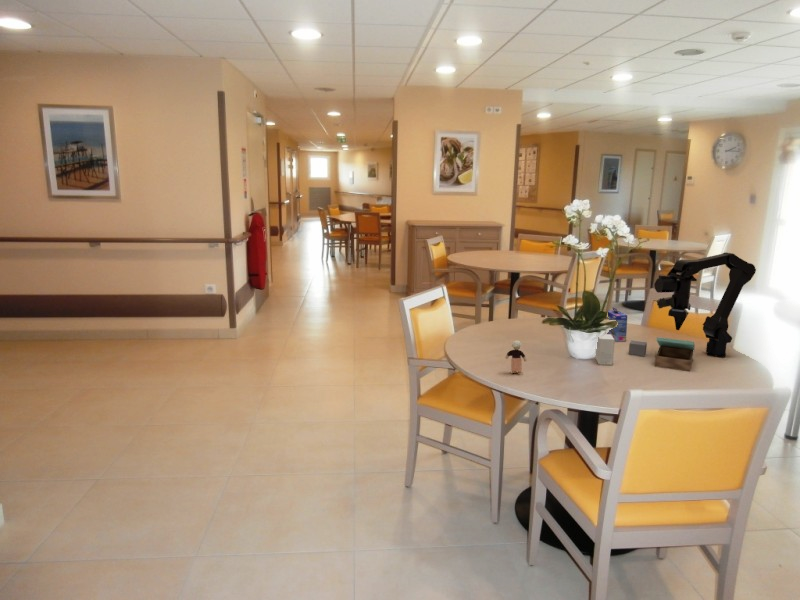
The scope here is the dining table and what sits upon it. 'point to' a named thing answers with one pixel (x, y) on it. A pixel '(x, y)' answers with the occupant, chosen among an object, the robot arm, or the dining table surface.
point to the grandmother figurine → (516, 357)
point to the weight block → (637, 348)
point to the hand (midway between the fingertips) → (677, 329)
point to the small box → (605, 350)
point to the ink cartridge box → (621, 328)
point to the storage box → (674, 358)
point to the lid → (676, 343)
